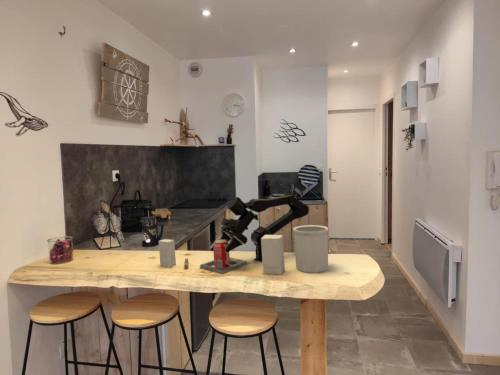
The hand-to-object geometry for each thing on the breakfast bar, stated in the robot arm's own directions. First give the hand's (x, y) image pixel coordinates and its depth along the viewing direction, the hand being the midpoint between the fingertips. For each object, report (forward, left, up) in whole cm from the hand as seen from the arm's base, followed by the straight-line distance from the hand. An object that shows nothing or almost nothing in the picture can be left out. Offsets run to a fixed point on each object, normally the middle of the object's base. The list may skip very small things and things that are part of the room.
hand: (222, 249), depth 163 cm
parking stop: (+15, +8, -8) cm, 19 cm away
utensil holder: (-33, -21, -8) cm, 40 cm away
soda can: (0, 0, -8) cm, 8 cm away
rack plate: (0, -1, -8) cm, 8 cm away
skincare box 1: (+23, +13, -8) cm, 27 cm away
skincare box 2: (-23, -7, -8) cm, 26 cm away
